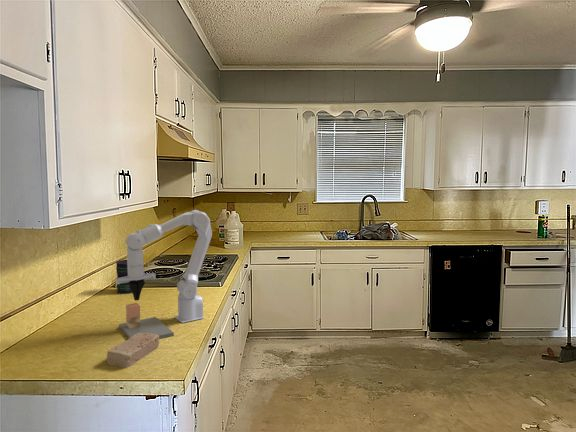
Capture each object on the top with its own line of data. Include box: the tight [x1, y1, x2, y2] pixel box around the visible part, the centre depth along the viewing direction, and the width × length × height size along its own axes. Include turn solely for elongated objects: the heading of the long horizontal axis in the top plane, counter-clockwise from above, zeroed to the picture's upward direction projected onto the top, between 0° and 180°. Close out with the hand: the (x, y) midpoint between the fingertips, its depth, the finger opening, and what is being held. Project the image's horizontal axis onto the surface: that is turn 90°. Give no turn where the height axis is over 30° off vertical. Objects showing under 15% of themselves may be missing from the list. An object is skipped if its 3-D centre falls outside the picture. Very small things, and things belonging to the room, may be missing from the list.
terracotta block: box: [125, 302, 141, 318], centre depth 156 cm, size 4×4×4 cm
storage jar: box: [115, 259, 133, 295], centre depth 205 cm, size 10×10×15 cm
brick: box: [106, 333, 160, 369], centre depth 134 cm, size 17×8×5 cm, turn 163°
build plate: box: [118, 316, 175, 340], centre depth 154 cm, size 14×20×1 cm
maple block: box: [125, 315, 141, 329], centre depth 156 cm, size 4×4×4 cm
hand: (136, 299), depth 159 cm, fingers closed
